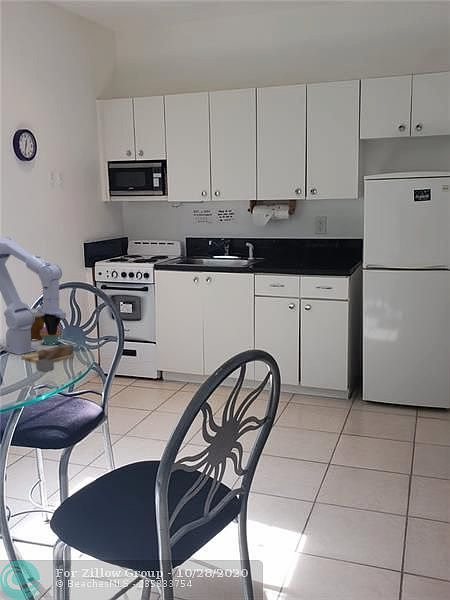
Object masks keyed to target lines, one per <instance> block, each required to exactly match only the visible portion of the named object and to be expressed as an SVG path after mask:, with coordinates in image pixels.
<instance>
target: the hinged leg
mask: <svg viewBox="0 0 450 600" xmlns="http://www.w3.org/2000/svg"><path fill="white" fill-rule="evenodd" d="M37 352H38V359H39V360H40V359H51V358H55V357H59V356H64V355H68V354H74V345H72V344H69V343H68V344H64V345H59V346H55V347H51V348H50V347H49V348H47V349H44V348H43V349H42V348H41V349H40V350H38V351H37Z"/></svg>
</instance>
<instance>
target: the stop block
mask: <svg viewBox="0 0 450 600" xmlns="http://www.w3.org/2000/svg"><path fill="white" fill-rule="evenodd" d="M35 364H36V365H35V367H36V370H38V371H42V372H45V373H46V372H50V371H53V370H55V362H54V361H52V360H48V359H40V360H36V363H35Z"/></svg>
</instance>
